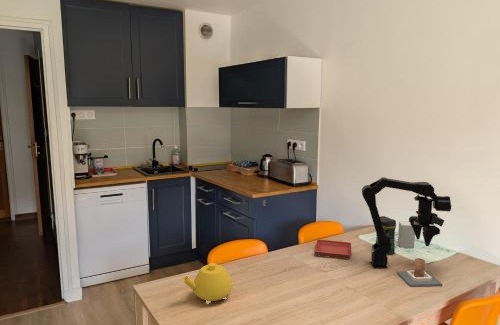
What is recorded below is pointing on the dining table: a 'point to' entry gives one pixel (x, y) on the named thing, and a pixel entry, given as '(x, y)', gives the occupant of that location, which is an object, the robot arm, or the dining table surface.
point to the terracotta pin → (419, 267)
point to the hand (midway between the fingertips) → (422, 242)
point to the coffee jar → (389, 231)
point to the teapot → (211, 283)
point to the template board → (418, 279)
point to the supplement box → (406, 235)
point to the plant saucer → (333, 248)
